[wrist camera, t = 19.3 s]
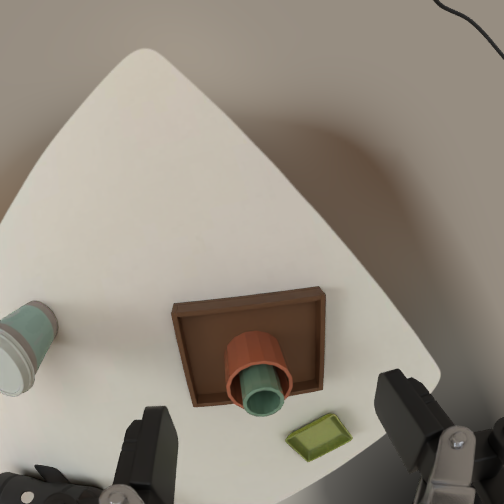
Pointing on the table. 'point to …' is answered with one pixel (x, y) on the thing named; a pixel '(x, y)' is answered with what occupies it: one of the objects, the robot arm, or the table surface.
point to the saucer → (319, 437)
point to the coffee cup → (24, 346)
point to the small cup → (261, 390)
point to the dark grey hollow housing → (41, 486)
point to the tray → (245, 320)
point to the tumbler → (254, 361)
